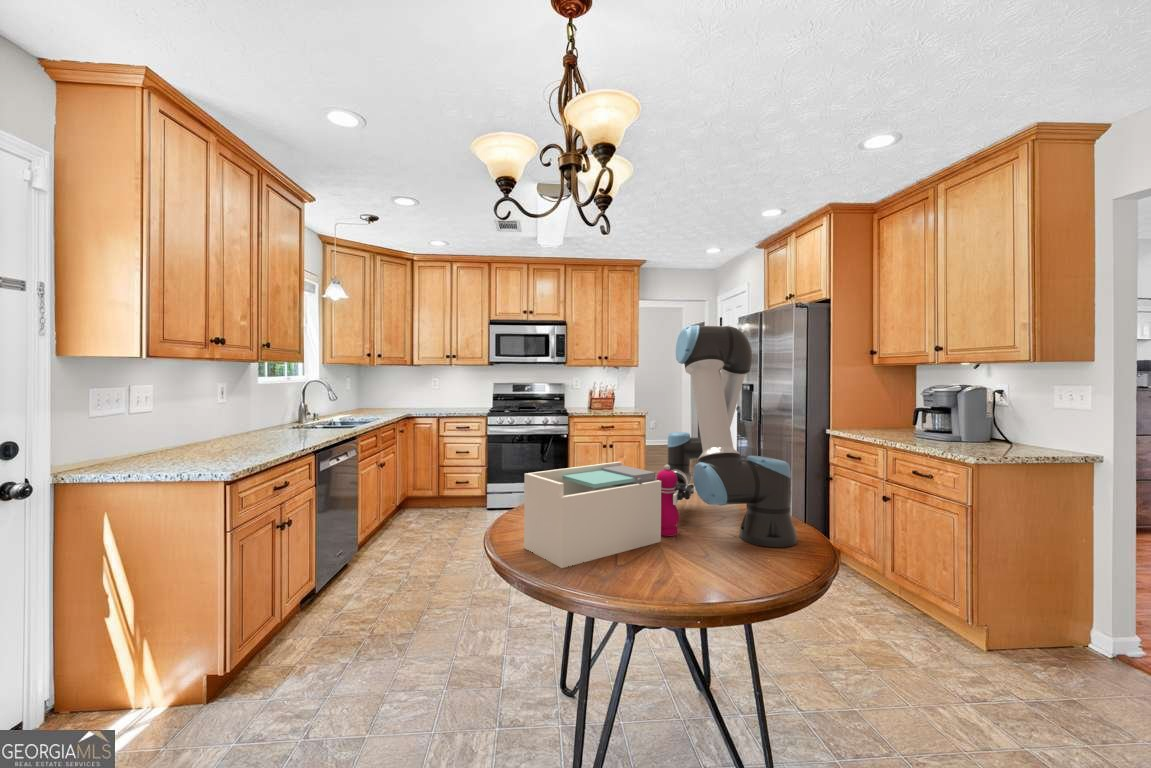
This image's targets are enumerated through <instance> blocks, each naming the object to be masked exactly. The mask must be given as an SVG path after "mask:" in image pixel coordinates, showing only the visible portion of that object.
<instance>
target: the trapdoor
mask: <svg viewBox="0 0 1151 768" xmlns="http://www.w3.org/2000/svg"><path fill="white" fill-rule="evenodd" d="M638 478H642V479H643V483H645V482H651V481H656V472H654V471H650V470H645V469H641V468H636V467H632V466H626V465H624V464H622V465H620V466H612V467H605V468H602V470H600V471H592V472H585V473H577V474H570V475H563V479H564V480H568V481H571V482H575V483H578V484H582V485H585V486H589V487H592V488H598V487H604V486H610V485H611V486H615V487H620V486H626V485H633V484H638V483H637V479H638Z"/></svg>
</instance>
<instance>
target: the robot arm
mask: <svg viewBox="0 0 1151 768" xmlns="http://www.w3.org/2000/svg"><path fill="white" fill-rule="evenodd" d="M752 351H753V350H752V347H751V343H750V341H749V339H748V337H747V336H746V334H745V333H743V332H742V331H741V330H740V329H738V328H737V327H734V326H729V325H726V326H725V325H724V326H722V325H719V326H717V325H699V324H697V325H687V326H684V327H683V328H682V329H681V330H680V332H679V334H678V336H677V339H676V345H675V359H676V362H677V363H679V364H681V365H683V364H684V370H685V373H687V374H688V375H690V376H691V382H692V391H693V396H694V402H695V403H694V404H695V409H696V415H697V422H698V429H699V435H700V436H699V437H691V434H690V433H689V432H687V431H671V432H669V433H668V436H667V445H666V446H667V464H666V465H669V466H670V470H671V471H673V472H675V473H676V475H677V483H676V484H675V487H676V488H675V490H676V491H675V492H674V495H673V505H676V506H677V503H678V501H682V500H683V499H685V500H687V501H688V500H690V499H691V495H693V494H694V492H696V493H697V495H698V497H699V498H700V499H701V501H702V502H704V503H705V504H707V505H710V506H711V505H713V506H719V507H720V506H725V505H746V510H745V513H744V516H743V518H742V521H741V525H740V528H739V537H740V538H741V540H743V541H744V542H747V543H750V544H753V545H755V546H756V545H757V546H761V547H768V548H788V547H792V546H794V545H796V544H797V532H796V528H795V525H794V522H793V519H792V516H791V482H792V481H791V480H792V474H791V473H792V472H791V466H790V464H789V463H788V462H787V461H785V460H781V459H779V458H777V459H776V458H772V457H767V456H759V455H748V456H747V457H746V459H745V461H742V459H741V458H742V457H741V453H740V452H739V451H737V450H736V449H735V448H734V445H733V444H734V442H733V437H732V432H731V427H732V423H733V419H734V417H735V416H734V415H735V412H736V408H737V405H738V401H739V398H740V394H741V392H742V387H743V383H744V380H745V377H746V375H748V374H749V373H750V371H751V369H752V364H753V352H752ZM691 460H693V461H694V460H698V462H697V463H696V464H695V465H694V466H693V469H692V470H693V471H692V472H693V474H691V472H690V469H691V468H690V466H691ZM691 475H692V477H691ZM691 479H692V481H693V484H690V482H691ZM694 490H695V491H694Z"/></svg>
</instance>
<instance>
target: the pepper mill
mask: <svg viewBox="0 0 1151 768" xmlns="http://www.w3.org/2000/svg"><path fill="white" fill-rule="evenodd" d="M657 480H659V481H661V536H664V537H665V536H666V537H669V536H670V537H671V536H676V535H677V534H678V531H679V530H678V526H677V524H678V523H679V521H680V513H679V511H678V508H677V504H676V505H673V495H674V492H675V491H676V490H675V488H676V487H675V484H676V483H677V475H676V473H675V472H673V471H671V470H670V466H669V465H667V464H665V465H664V466H663V470H660V471H659V472H658V473H657V475H656V481H657Z"/></svg>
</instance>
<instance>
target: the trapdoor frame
mask: <svg viewBox="0 0 1151 768" xmlns="http://www.w3.org/2000/svg"><path fill="white" fill-rule="evenodd" d="M620 465H623V462H622V461H613V462H607V463H606V462H605V463H604V462H603V463H599V464H598V463H597V464H591V465H589V464H588V465H581V466H575V467H567V468H558V469H557V468H556V469H550V470H549V469H548V470H543V471H542V470H541V471H535V472H528V473H527V472H526V473H524V487H523V489H524V490H523V492H524V493H523V494H524V495H523V496H524V497H523V498H524V499H523V500H524V501H523V503H524V505H523V506H524V508H523V509H524V510H523V512H524V513H523V516H524V517H523V519H524V520H523V521H524V522H523V533H524V534H523V548H524V549H525V550H527V551H528V550H529V551H528V552H530V551H531V553H532V552H533V554H534V555H536V556H537V557H540V558H542V559H544V560H545V559H546V560H545V561H547V562H549V563H551V564H553V565H555V566H557V567H558V568H560V569H565V568H568V566H569V567H571V566H572V565H573V566H576V565H580V564H583V562H584V563H586V562H587V563H588V562H590V561H595V560H599V559H602V558H605V557H609V556H613V555H617V554H621V553H623V552H625V553H626V552H627V551H631V550H632V551H633V550H635V549H638V548H639V549H640V548H642V547H646V546H649V545H653V544H657V543H660V542H662V540H661V539H662V538H661V537H662V535H661V481H659V480H657V479H656V480H655V481H651V482H645V483H643V479H642V478H638V479H637V483H638V484H633V485H626V486H620V487H615V486H611V485H610V486H604V487H598V488H592V487H589V486H585V485H582V484H578V483H575V482H571V481H568V480H564V479H563V475H570V474H577V473H585V472H592V471H600V470H602V468H605V467H612V466H620Z"/></svg>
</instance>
